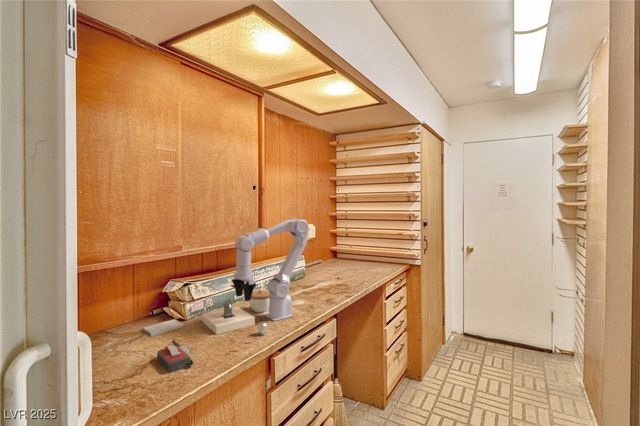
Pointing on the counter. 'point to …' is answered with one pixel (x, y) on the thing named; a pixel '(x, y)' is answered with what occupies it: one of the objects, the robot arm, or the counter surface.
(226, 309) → the tall pin
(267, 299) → the lidded jar
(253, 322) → the hole block
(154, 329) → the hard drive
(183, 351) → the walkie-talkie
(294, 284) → the counter surface
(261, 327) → the short pin
